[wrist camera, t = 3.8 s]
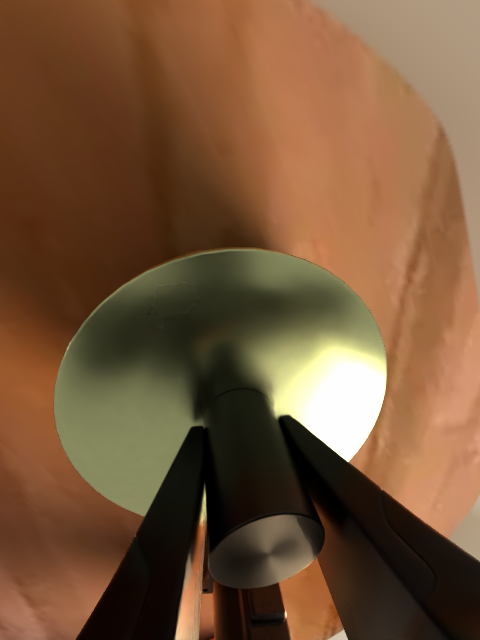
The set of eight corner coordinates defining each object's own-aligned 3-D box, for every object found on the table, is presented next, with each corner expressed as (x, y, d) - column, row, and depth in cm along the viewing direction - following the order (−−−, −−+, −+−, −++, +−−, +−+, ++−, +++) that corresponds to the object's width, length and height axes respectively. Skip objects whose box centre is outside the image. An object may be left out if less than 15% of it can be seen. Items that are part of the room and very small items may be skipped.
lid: (299, 504, 13) (357, 661, 8) (51, 487, 10) (-83, 726, 5) (418, 305, 10) (629, 377, 5) (103, 182, 7) (-143, 58, 2)
